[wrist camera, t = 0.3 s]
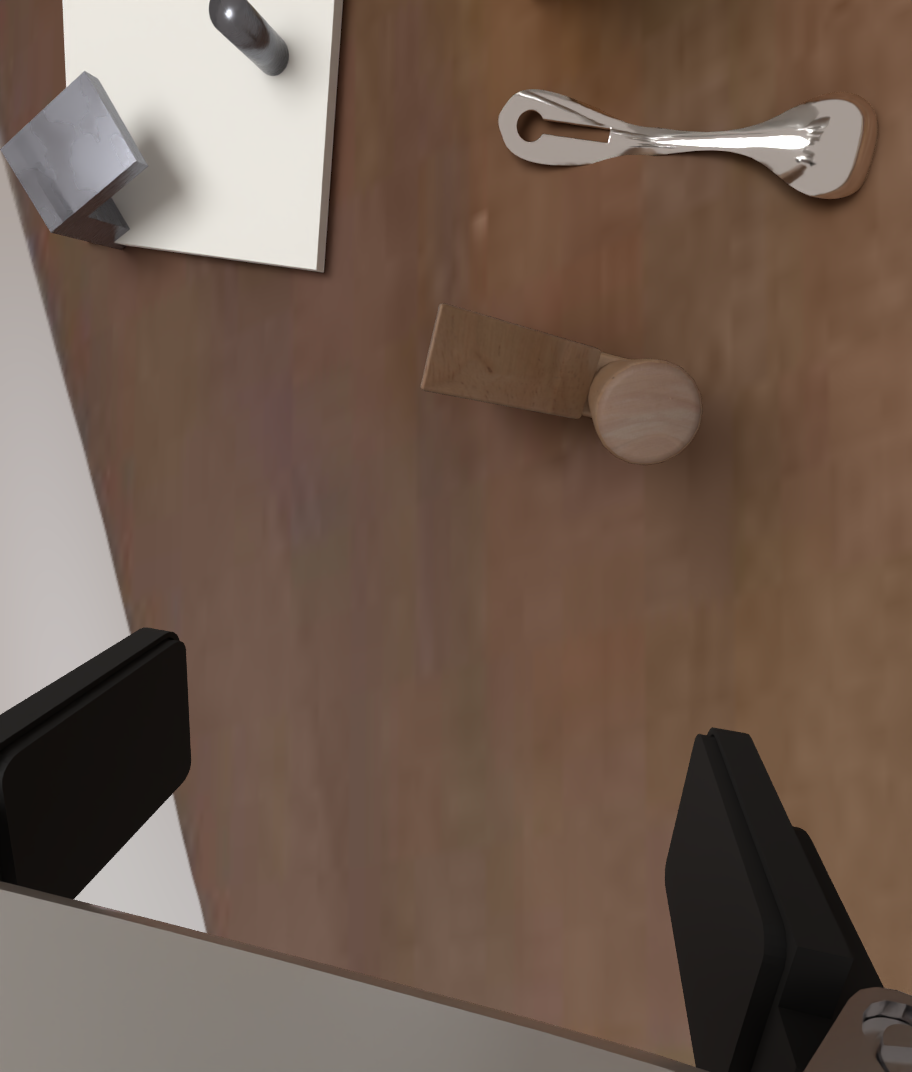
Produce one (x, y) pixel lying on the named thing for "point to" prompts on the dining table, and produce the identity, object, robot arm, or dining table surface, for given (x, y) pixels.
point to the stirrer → (717, 139)
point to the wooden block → (565, 383)
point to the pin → (250, 34)
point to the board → (217, 125)
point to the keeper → (77, 163)
